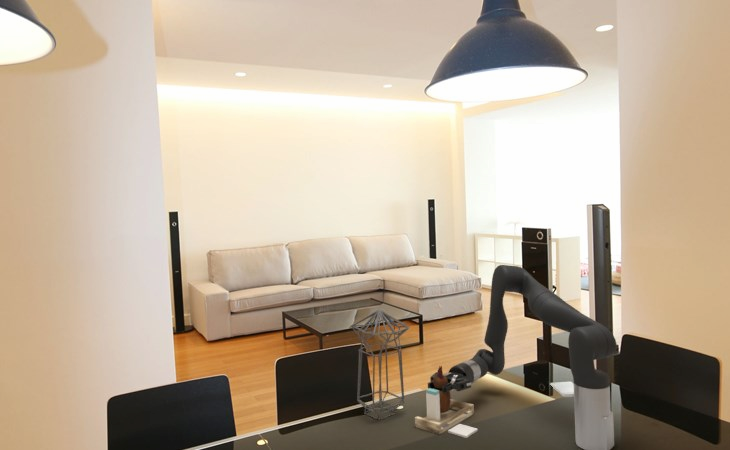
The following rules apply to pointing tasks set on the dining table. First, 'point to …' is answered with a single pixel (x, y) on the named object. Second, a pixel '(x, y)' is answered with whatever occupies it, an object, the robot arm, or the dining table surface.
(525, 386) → the dining table surface
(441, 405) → the wooden figurine
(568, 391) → the hard drive
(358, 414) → the dining table surface
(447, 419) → the light wooden tray
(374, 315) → the geometric lantern
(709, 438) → the dining table surface
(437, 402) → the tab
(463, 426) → the pad
